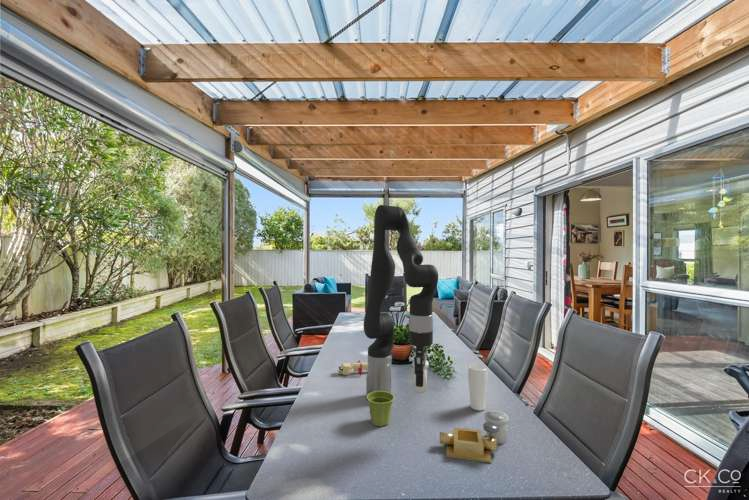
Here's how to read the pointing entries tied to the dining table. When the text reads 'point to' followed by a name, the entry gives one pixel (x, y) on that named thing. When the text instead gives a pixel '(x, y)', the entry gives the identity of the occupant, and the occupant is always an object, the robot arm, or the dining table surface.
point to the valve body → (471, 443)
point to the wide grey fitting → (501, 421)
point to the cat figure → (352, 368)
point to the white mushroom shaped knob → (424, 388)
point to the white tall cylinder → (477, 386)
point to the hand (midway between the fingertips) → (420, 383)
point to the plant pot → (380, 407)
